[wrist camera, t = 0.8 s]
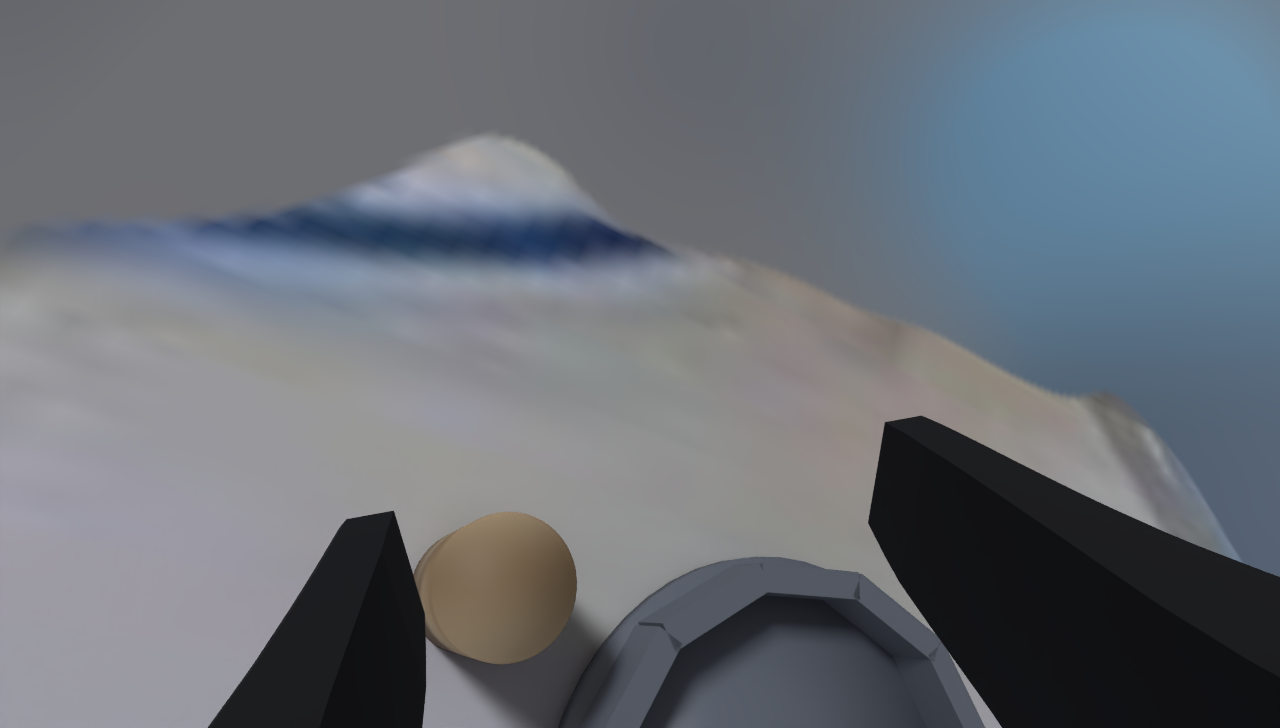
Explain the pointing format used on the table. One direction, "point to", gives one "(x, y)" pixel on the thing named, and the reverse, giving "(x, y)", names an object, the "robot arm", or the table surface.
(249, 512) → the table surface
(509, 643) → the bead
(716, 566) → the ring tray
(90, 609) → the table surface
